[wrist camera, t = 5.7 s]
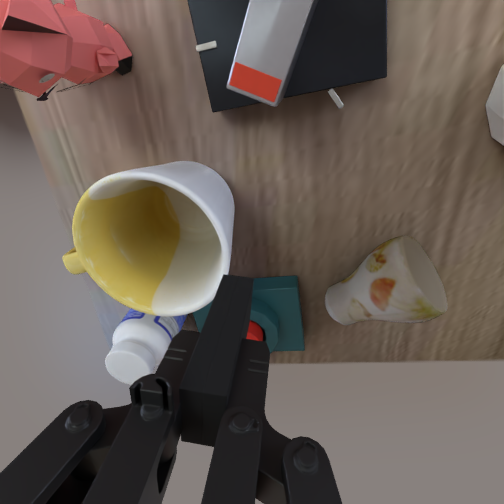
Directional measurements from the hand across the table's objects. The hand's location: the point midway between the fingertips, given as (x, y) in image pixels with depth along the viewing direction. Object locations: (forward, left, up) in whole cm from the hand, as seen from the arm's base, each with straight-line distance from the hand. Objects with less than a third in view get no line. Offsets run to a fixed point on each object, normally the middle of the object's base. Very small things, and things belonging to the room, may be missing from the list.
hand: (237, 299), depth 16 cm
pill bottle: (0, +16, -15) cm, 22 cm away
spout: (+8, -10, -12) cm, 17 cm away
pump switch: (-7, +10, -14) cm, 19 cm away
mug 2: (-12, -2, -15) cm, 19 cm away
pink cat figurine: (+18, 0, -15) cm, 23 cm away
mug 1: (+6, +6, -15) cm, 17 cm away
